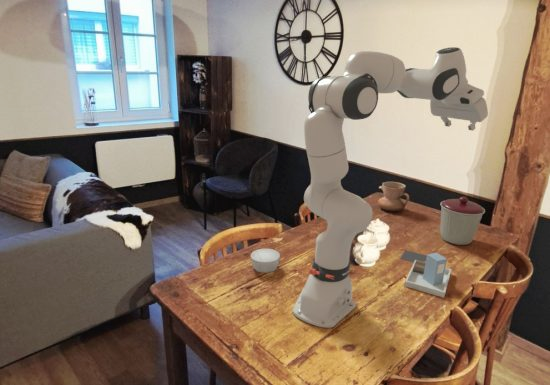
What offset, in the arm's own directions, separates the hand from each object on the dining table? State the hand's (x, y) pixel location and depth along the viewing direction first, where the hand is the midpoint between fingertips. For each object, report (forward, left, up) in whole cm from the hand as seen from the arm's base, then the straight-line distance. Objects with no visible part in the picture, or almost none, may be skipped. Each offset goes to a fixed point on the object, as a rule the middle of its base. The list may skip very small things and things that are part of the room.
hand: (459, 127), depth 136 cm
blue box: (-19, -2, -54) cm, 57 cm away
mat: (-4, +8, -54) cm, 55 cm away
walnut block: (-14, +3, -54) cm, 56 cm away
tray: (-19, 0, -54) cm, 58 cm away
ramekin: (-43, +56, -55) cm, 89 cm away
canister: (+25, -5, -55) cm, 60 cm away
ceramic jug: (+48, +30, -55) cm, 78 cm away
